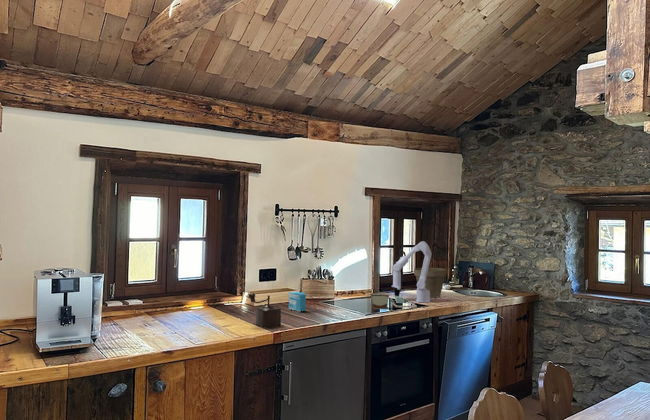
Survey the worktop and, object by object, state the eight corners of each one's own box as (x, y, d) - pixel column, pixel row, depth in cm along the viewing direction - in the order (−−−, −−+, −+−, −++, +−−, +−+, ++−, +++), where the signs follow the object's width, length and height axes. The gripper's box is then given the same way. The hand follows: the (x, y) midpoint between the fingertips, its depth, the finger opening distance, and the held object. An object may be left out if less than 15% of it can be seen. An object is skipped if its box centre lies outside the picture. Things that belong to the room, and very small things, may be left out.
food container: (388, 307, 321) (389, 292, 321) (389, 309, 315) (389, 294, 315) (370, 307, 322) (370, 292, 323) (370, 308, 316) (370, 293, 316)
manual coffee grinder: (271, 322, 270) (271, 290, 271) (281, 325, 261) (281, 293, 262) (246, 325, 261) (247, 292, 262) (256, 329, 252) (256, 295, 253)
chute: (407, 301, 350) (407, 299, 350) (416, 307, 323) (416, 305, 323) (388, 301, 348) (388, 299, 348) (396, 307, 322) (396, 305, 322)
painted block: (402, 301, 347) (402, 296, 348) (403, 303, 340) (403, 297, 341) (395, 301, 348) (395, 296, 348) (396, 303, 341) (396, 297, 341)
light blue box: (288, 310, 308) (288, 291, 309) (293, 309, 311) (294, 291, 312) (300, 312, 300) (300, 293, 300) (305, 312, 303) (305, 293, 303)
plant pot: (413, 298, 364) (413, 269, 365) (414, 293, 388) (414, 267, 389) (446, 299, 358) (446, 270, 359) (445, 294, 383) (445, 268, 383)
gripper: (389, 278, 359) (389, 296, 359) (393, 281, 345) (393, 299, 344) (398, 278, 360) (398, 296, 359) (403, 281, 345) (403, 299, 345)
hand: (396, 298), depth 352 cm, fingers closed
